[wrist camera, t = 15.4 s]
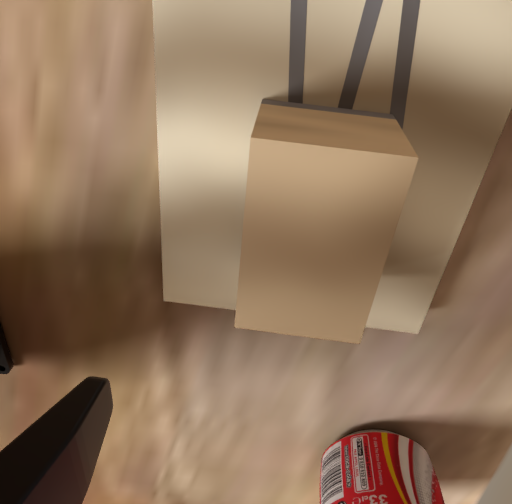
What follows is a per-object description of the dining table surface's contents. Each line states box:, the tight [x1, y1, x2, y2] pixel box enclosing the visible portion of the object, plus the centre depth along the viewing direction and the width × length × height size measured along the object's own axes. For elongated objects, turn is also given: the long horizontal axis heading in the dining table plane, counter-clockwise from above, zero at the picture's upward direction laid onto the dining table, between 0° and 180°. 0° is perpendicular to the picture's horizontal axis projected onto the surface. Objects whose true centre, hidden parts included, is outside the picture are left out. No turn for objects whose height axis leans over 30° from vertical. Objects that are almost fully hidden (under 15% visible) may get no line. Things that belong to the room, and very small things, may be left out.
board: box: [152, 0, 512, 334], centre depth 15 cm, size 20×12×2 cm, turn 175°
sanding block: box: [234, 99, 419, 344], centre depth 15 cm, size 7×4×4 cm, turn 175°
